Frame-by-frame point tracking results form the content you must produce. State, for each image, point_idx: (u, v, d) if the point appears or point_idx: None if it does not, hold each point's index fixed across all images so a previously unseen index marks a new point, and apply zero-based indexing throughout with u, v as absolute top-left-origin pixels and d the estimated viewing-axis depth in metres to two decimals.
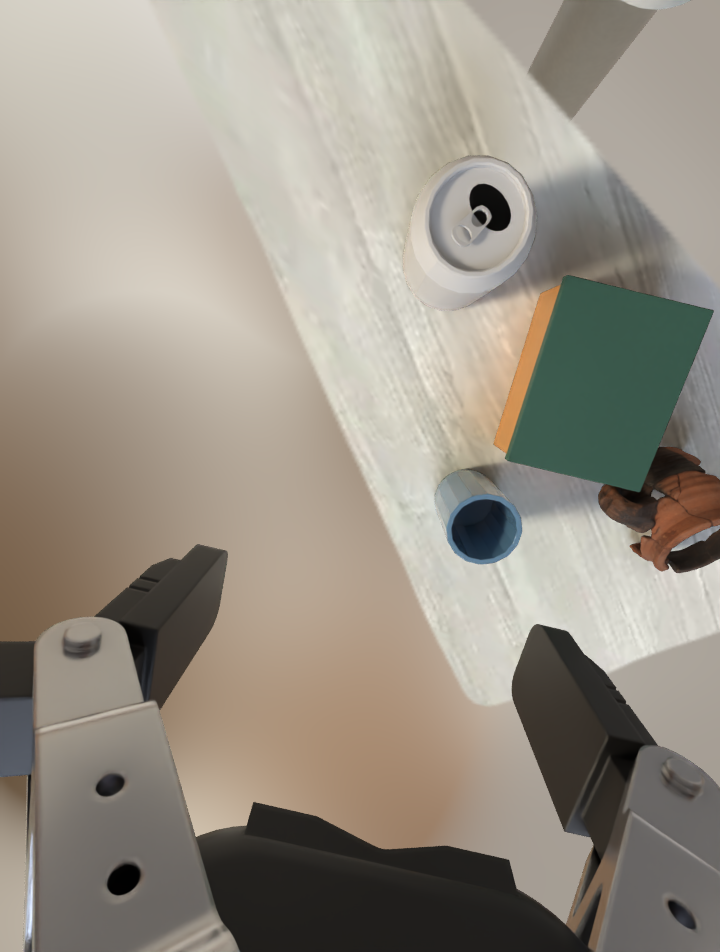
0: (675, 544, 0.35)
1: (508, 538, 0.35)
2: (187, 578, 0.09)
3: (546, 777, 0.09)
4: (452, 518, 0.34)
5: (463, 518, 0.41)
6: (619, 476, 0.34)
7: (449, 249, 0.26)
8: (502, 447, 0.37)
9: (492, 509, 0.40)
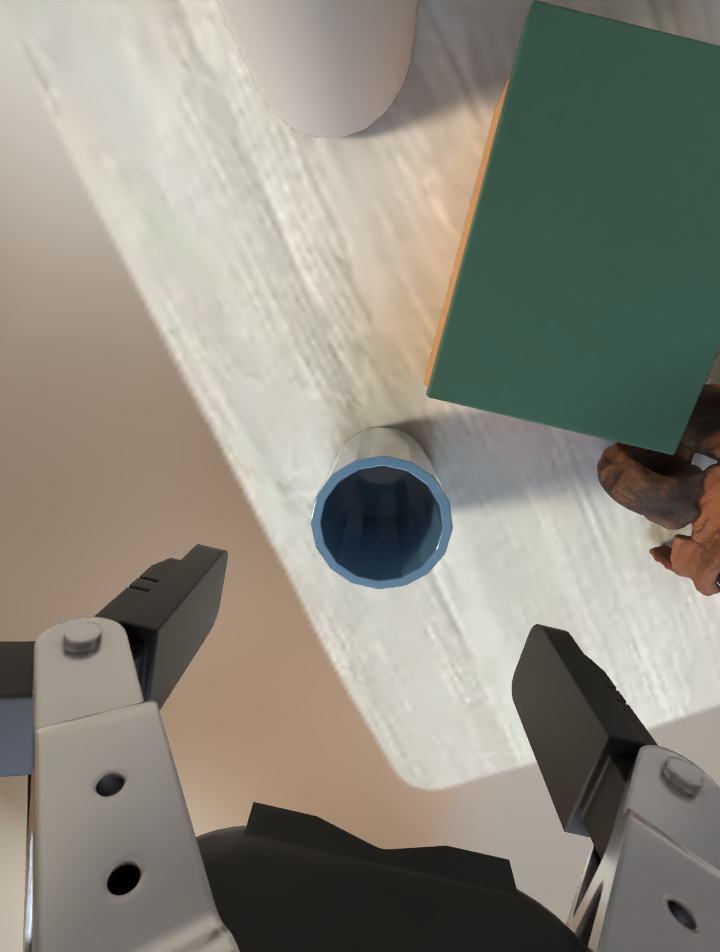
0: None
1: (432, 540, 0.19)
2: (187, 578, 0.09)
3: (546, 777, 0.09)
4: (320, 503, 0.18)
5: (378, 507, 0.26)
6: (636, 425, 0.18)
7: None
8: None
9: (423, 492, 0.25)
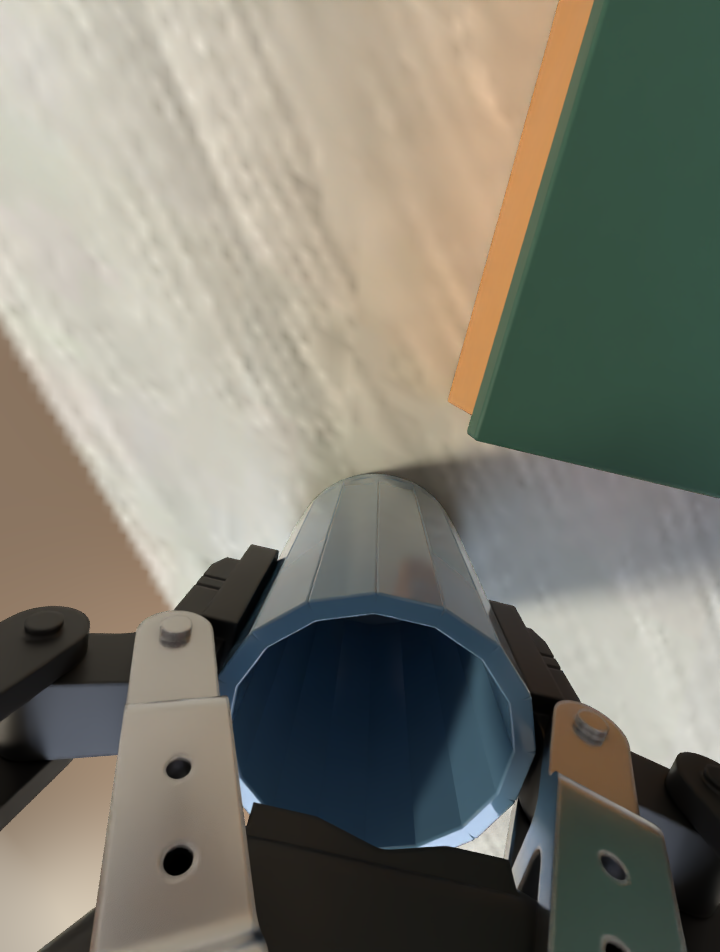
0: None
1: (480, 747, 0.09)
2: (250, 576, 0.10)
3: None
4: (227, 694, 0.08)
5: None
6: None
7: None
8: (466, 401, 0.11)
9: None
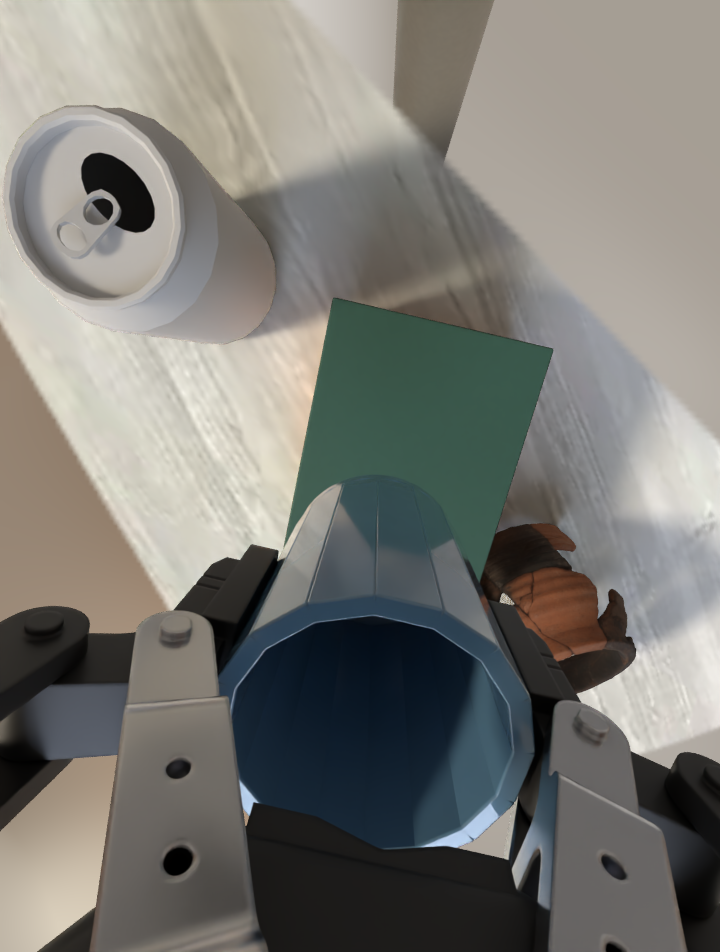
0: None
1: (479, 748, 0.09)
2: (250, 576, 0.10)
3: None
4: None
5: None
6: None
7: (65, 263, 0.16)
8: None
9: None
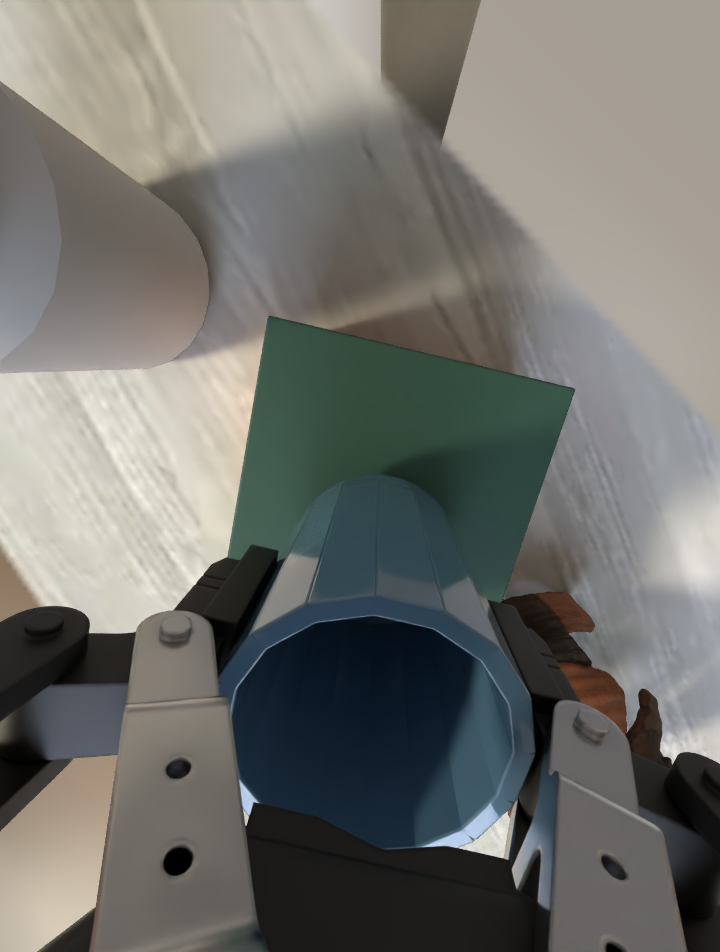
0: None
1: (479, 748, 0.09)
2: (250, 576, 0.10)
3: None
4: None
5: None
6: None
7: None
8: None
9: None
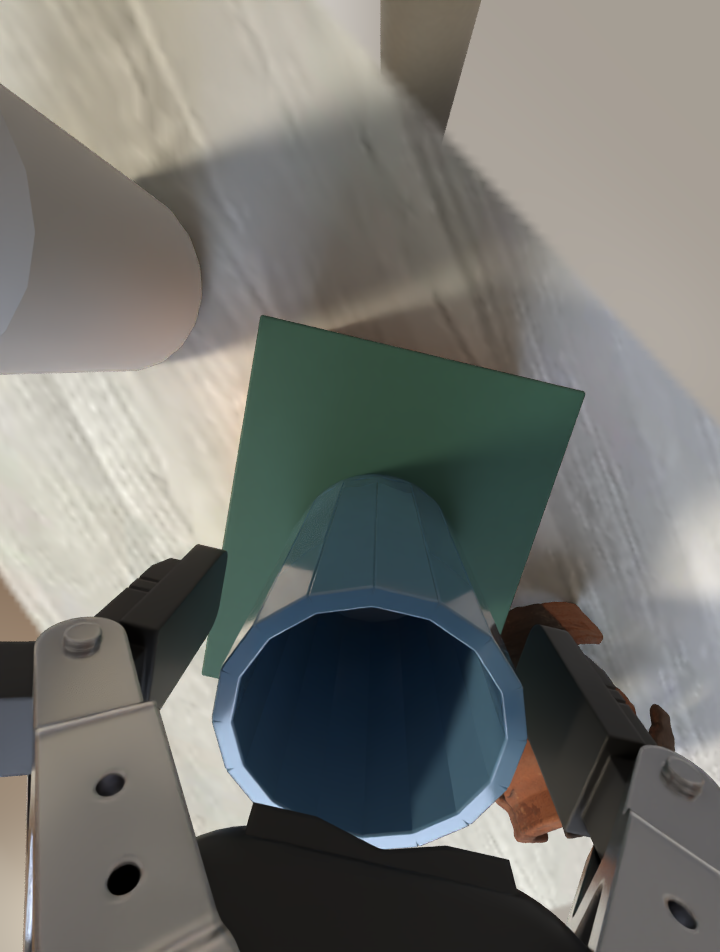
0: (540, 833, 0.18)
1: (474, 737, 0.09)
2: (187, 578, 0.09)
3: (546, 777, 0.09)
4: (231, 684, 0.08)
5: None
6: None
7: None
8: None
9: None
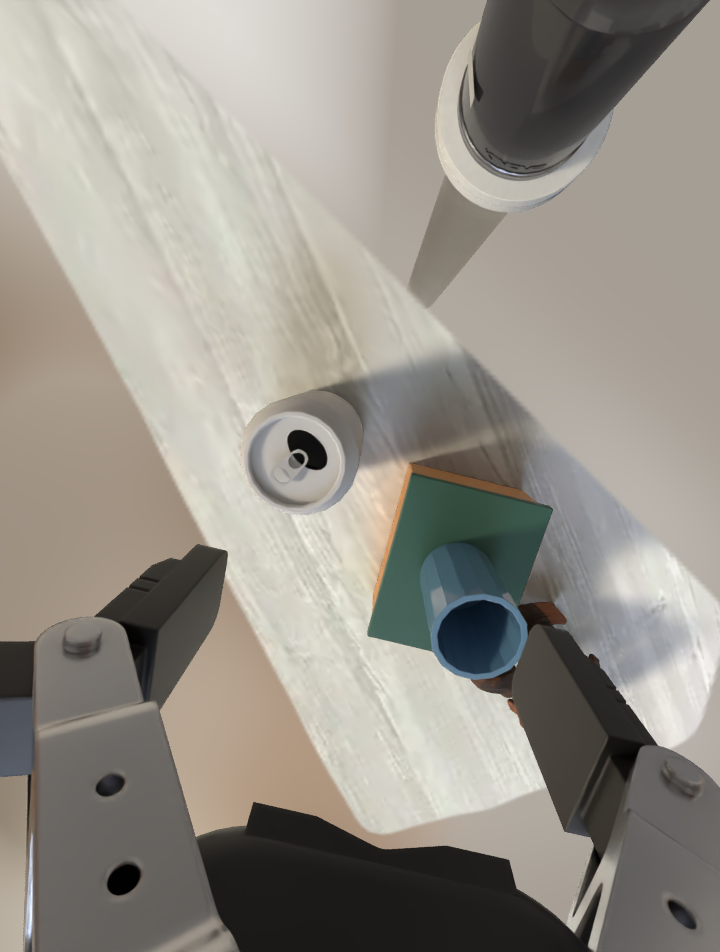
0: None
1: (510, 644, 0.27)
2: (187, 578, 0.09)
3: (547, 777, 0.09)
4: (438, 623, 0.26)
5: None
6: None
7: (272, 484, 0.27)
8: None
9: None
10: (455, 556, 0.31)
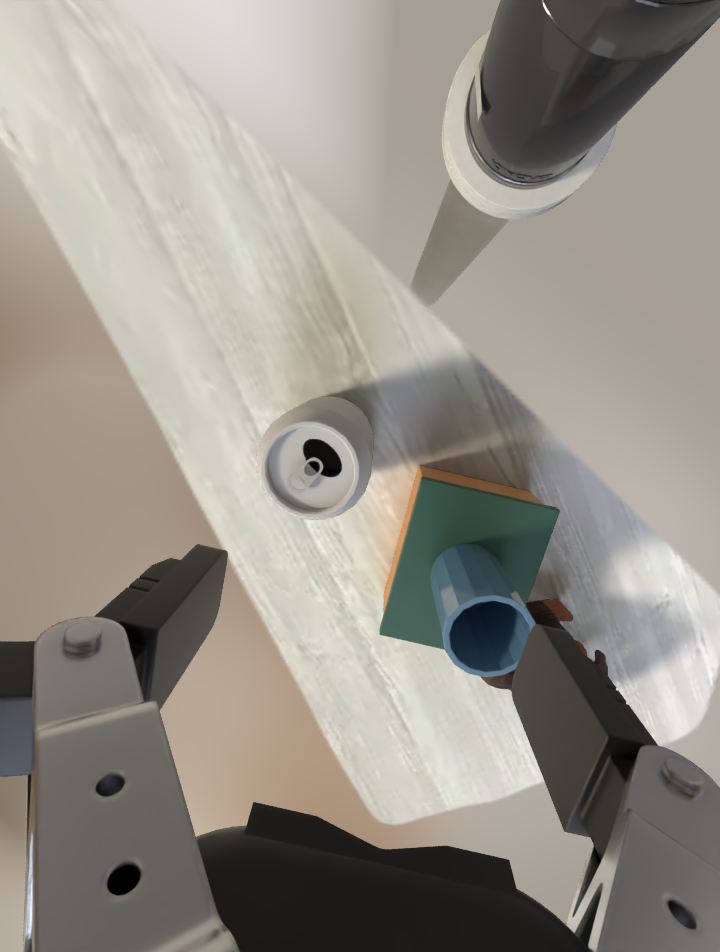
0: None
1: (519, 643, 0.28)
2: (187, 578, 0.09)
3: (546, 777, 0.09)
4: (450, 623, 0.27)
5: None
6: None
7: (288, 491, 0.28)
8: (384, 609, 0.39)
9: None
10: (465, 557, 0.32)
